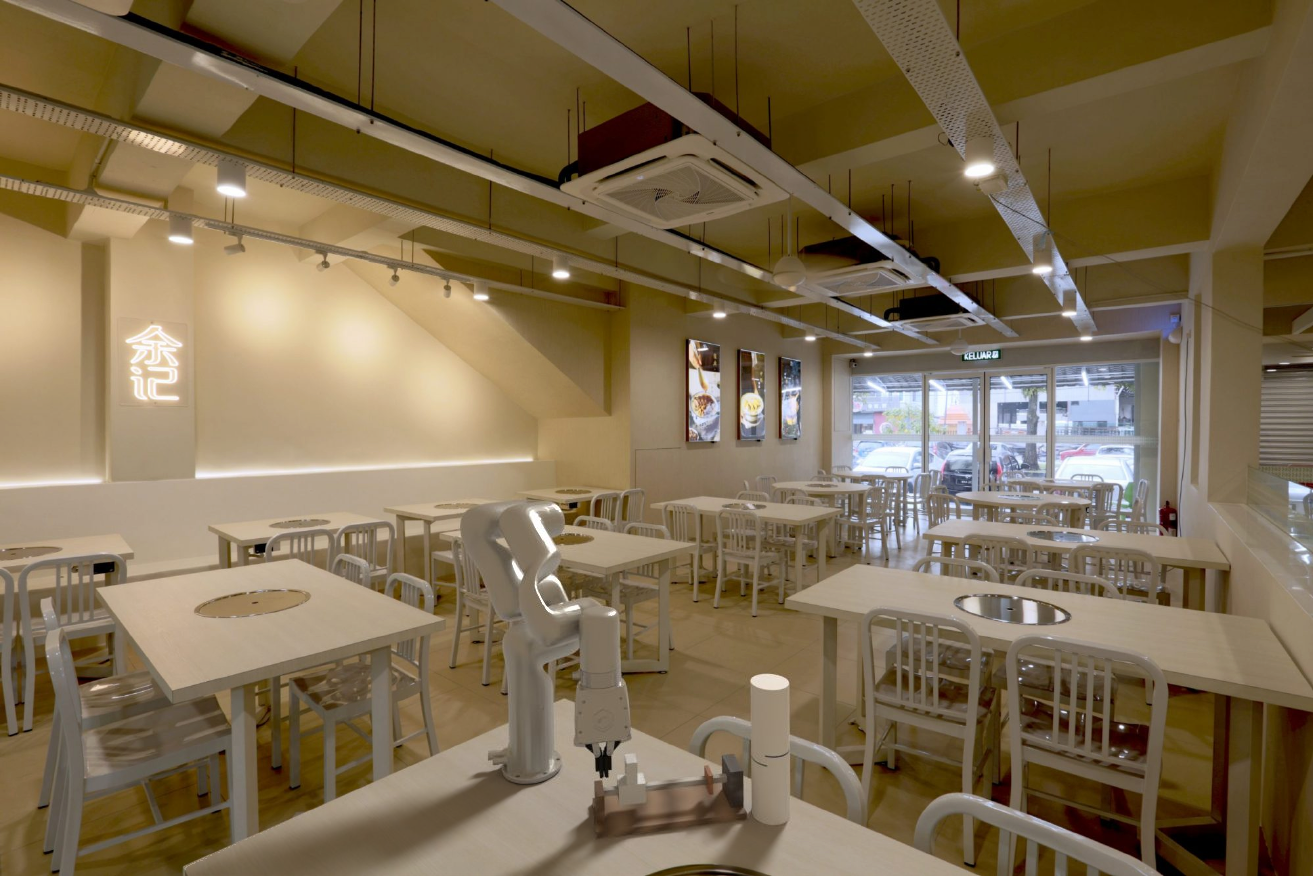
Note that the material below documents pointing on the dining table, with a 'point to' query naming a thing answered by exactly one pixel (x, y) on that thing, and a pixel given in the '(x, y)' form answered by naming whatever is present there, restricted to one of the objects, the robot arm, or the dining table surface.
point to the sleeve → (631, 783)
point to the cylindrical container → (770, 749)
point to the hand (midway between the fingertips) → (603, 774)
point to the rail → (673, 803)
